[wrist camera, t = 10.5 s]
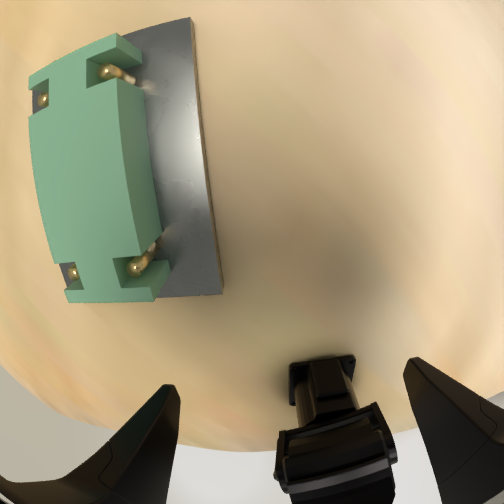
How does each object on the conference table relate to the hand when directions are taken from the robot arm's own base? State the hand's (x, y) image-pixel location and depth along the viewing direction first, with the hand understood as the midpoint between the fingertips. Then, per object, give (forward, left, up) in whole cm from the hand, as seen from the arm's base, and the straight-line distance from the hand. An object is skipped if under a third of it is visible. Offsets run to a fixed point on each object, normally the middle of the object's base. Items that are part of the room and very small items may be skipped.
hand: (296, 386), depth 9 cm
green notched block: (+8, +11, -11) cm, 17 cm away
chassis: (+8, +11, -12) cm, 18 cm away
